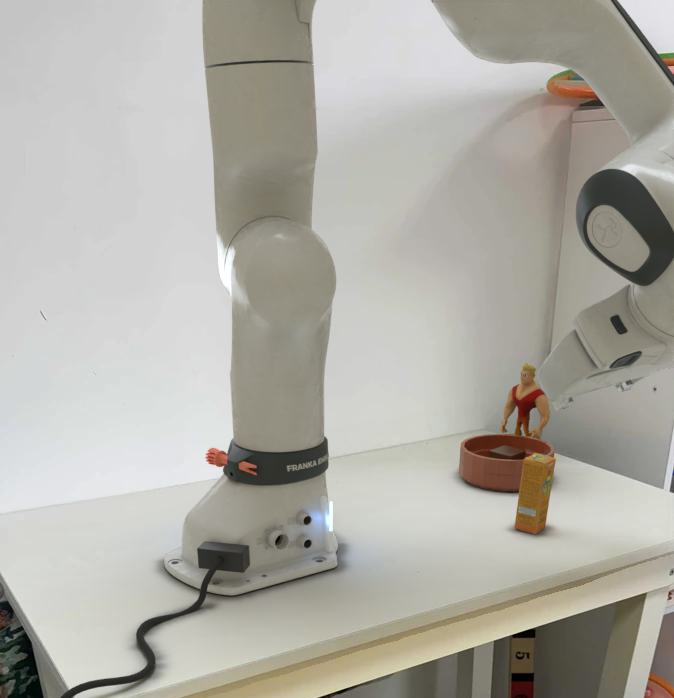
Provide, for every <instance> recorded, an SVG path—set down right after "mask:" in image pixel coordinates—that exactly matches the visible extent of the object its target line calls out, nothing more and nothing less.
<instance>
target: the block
mask: <svg viewBox="0 0 674 698" xmlns="http://www.w3.org/2000/svg"><path fill="white" fill-rule="evenodd" d="M525 454H526V451H525V450H521V449H517V448H513V447H509V446H505V445H504V446H501V447H498V448H496V449H493V450H490V451H489V458H495V459H506V460H524V459H525Z"/></svg>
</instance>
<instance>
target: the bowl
mask: <svg viewBox="0 0 674 698" xmlns="http://www.w3.org/2000/svg"><path fill="white" fill-rule="evenodd" d="M533 437H534V436H533ZM533 437H528V436H526V435H523V434H522V435H515V434H513V433H486V434H479V435H474V436H471V437H467V438H465V439H464V440H463V441H461V442H460V448H459V462H458V463H459V465H458V475H459V476H460V477H461V478H462V479H463V480H464V481H465V482H467V483H468V484H470V485H472V486H473V487H474V486H475V487H477V488H481V489H484V490H490V491H497V492H519V490H520V483H521V476H522V469H523V462H524V460H506V459H495V458H489V451H490V450H493V449H496V448H498V447H501V446H504V445H505V446H509V447H513V448H517V449H521V450H525V451H526V454H525V458H526V457H529V456H531V455H533V454H534V453H539V454H543V455H547V456H550V457H553V458H555V447H554V446H553V445H552V444H551V443H549V442H547V441H545V440H542V439H541V438H539V439H537V438H536V437H535V438H533Z"/></svg>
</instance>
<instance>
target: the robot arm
mask: <svg viewBox="0 0 674 698" xmlns="http://www.w3.org/2000/svg"><path fill="white" fill-rule="evenodd" d="M317 1H318V0H202V11H201V14H202V15H201V17H202V19H201V20H202V21H201V22H202V23H201V24H202V25H201V27H202V29H201V30H202V51H203V52H202V53H203V64H204V76H205V86H206V97H207V105H208V106H207V107H208V108H207V109H208V118H209V128H210V136H211V137H210V139H211V148H212V161H213V162H212V163H213V164H212V165H213V193H214V195H213V196H214V212H215V213H214V215H215V231H216V232H215V233H216V248H217V261H218V272H219V276H220V279H221V283H222V284H223V287H224V289H225V291H226V292H227V293H228V295H229V296H230V302H231V357H230V372H229V381H230V400H231V401H230V402H231V417H232V436H233V437H232V439H231V440H230V443H229V445H228V449H227V452H226V451H224V450H220V449H218V448H217V447H210V448H209V449H207V452H206V453H205V459H206V460H205V461H206V462H207V463H208V464H209V465H211V466H215V467H217V468H222V475H221V476H220V477H219V478H218V480H217V481H216V482H215V483H214V484H213V485H212V486H211V487H210V489H209V490H208V491H207V492H206V493H205V494H204V495H203V496H202V497H201V498H200V499H199V501H198V502H197V503H196V504H195V505H194V506H193V507H192V508H191V509H190V510H189V511H188V512H187V514H186V515H185V517H184V519H183V523H182V532H181V546H180V547H178V548H176V549H174V550H172V551H170V552H168V553H165V555H164V560H163V565H164V568H165V570H167V572H168V573H169V574H170V575H171V576H173V577H174V578H176V579H177V580H179V581H180V582H183V583H185V584H187V585H188V586H191V587H193V588H196V589H199V595H198V598H197V600H196V601H195V602H193V604H192V605H190V606H189V607H188V608H186V609H184V610H181V611H178V612H175V613H169V614H165V615H159V616H153V617H151V618H148V619H146V620H144V621H143V622H142V623H141V624H140V625H139V627H138V628H137V630H136V633H135V636H136V637H135V638H136V641H137V643H138V646H139V647H140V648H141V650H142V651H143V652H144V654H145V656H146V658H147V664H146V665H145V667H144V668H143V669H141V670H140V671H138V672H136V673H133V674H129V675H124V676H117V677H107V678H99V679H95V680H89V681H86V682H82V683H79V684H77V685H75V686H73V687H71V688H69V689H68V690H67V691H65V692H64V693H63V694H62V695H61V696H60V697H59V698H74V697H75V696H76V695H79V694H81V693H83V692H85V691H89V690H92V689H97V688H104V687H111V686H120V685H127V684H131V683H135V682H138V681H141V680H143V679H145V678H146V677H147V676H149V675H150V674H151V673H152V671H153V670H154V668H155V665H156V655H155V652H154V651H153V650H152V648H151V647H150V645H149V644H148V642H147V641H146V639H145V637H144V633H145V632H146V630H147V629H148V628H150V627H152V626H154V625H157V624H161V623H165V622H168V621H171V620H174V619H177V618H180V617H183V616H186V615H189V614H192V613H195V612H196V611H198V609H200V608H201V607H202V606H203V604H204V603H205V601H206V597H207V592H208V593H211V594H216V595H224V596H237V595H241V594H244V593H249V592H252V591H257V590H260V589H263V588H267V587H271V586H275V585H277V584H281V583H285V582H289V581H292V580H295V579H296V580H297V579H300V578H302V577H306V576H310V575H313V574H314V575H315V574H318V573H320V572H324V571H327V570H332V569H334V568H336V567H337V566H338V565H339V564H338V563H339V562H338V557H337V551H338V550H339V542H338V540H337V536H336V533H335V529H334V525H333V501H329V493H328V486H327V485H328V484H327V474H326V473H327V470H328V469H329V458H330V452H329V440H328V438H327V436H325V373H326V363H327V354H328V348H329V342H330V333H331V324H332V314H333V302H334V297H335V294H336V287H337V272H336V271H337V270H336V267H335V261H334V259H333V256H332V254H331V251H330V250H329V248H328V245H327V244H326V242H325V241H324V240H323V238H321V236H320V235H319V234H318V233H317V232H316V231H314V230H313V229H312V228H313V227H312V222H313V199H314V198H313V197H314V183H315V173H316V163H317V162H316V161H317V158H318V150H319V149H318V147H319V146H318V128H317V127H318V125H317V105H316V103H317V102H316V85H315V84H316V83H315V82H316V81H315V65H314V62H315V61H314V45H313V17H314V16H313V15H314V10H315V5H316V3H317ZM430 1H431V3H432V5H433V6H434V7H435V9H436V11H437V13H438V14H439V16H440V17H441V19H442V20H443V21H442V22H444V24H445V25H446V27H447V28H448V30H449V32H451V35H453V37H455V39H456V40H457V41H458V43H460V44H461V45H462V46H463V47H464V48H465V49H466V50H467V51H468V52H469V53H470V54H471V55H472V56H474V57H475V58H478V59H479V60H483V61H486V62H489V63H494V64H501V65H511V64H522V63H540V64H549V65H550V64H552V65H556V66H560V67H563V68H566V69H568V70H570V71H572V72H574V73H575V74H577V75H578V76H579V77H580V78H581V79H583V81H585V82H586V84H587V85H588V86H589V87H590V89H591V91H593V93H594V94H595V95H596V97H597V98H598V99H599V101H600V102H601V103H602V104H603V106H604V107H605V108H606V109H607V111H608V112H609V113H610V114H611V116H612V117H613V118H614V120H615V121H616V123H618V125H619V126H620V128H621V129H622V130H623V131H624V133H625V134H626V135H627V137H628V139H629V144H630V146H629V147H628V148H626V149H625V150H624V151H622V152H620V153H619V154H618V155H616V156H615V157H613V158H612V159H611V160H610V161H609V162H607V163H606V164H605V165H603V166H602V167H601V168H600V169H598V171H596V172H595V173H593V174H591V176H590V177H588V179H586V181H585V182H584V184H582V187H581V189H580V191H579V193H578V196H577V199H576V204H575V223H576V228H577V233H578V235H579V237H580V240H581V241H582V243H583V245H584V246H585V247H586V249H587V250H588V251H589V252H590V253H591V255H593V257H595V258H596V259H597V260H598V261H600V262H601V263H602V264H604V265H605V266H607V267H608V268H609V269H610V270H612V271H613V272H614V273H616V274H617V275H619V276H621V277H622V278H623V279H626V280H627V281H629V282H631V283H630V284H626V285H625V286H623V287H622V288H620V289H618V291H616V292H615V293H613V294H612V295H610V296H609V297H606V298H604V299H603V300H600V301H599V302H596V303H594V304H592V305H589V306H588V307H586V308H585V307H584V308H583V309H582V310H580V311H579V312H578V313H577V314H576V315H575V316H574V317H573V320H572V326H573V329H572V330H571V331H569V332H567V334H565V335H564V336H563V337H562V338H561V339H560V340H559V341H558V342H557V343H556V344H555V346H554V348H553V349H552V350H551V351H550V353H549V354H548V355H547V357H546V358H545V360H544V361H543V363H542V364H541V365H540V367H539V368H538V371H537V381H538V383H539V386H540V388H541V390H542V391H543V392H544V393H545V395H546V397H547V399H548V401H550V404H551V405H552V406H553V408H554V410H555V411H556V412H558V411H563V410H565V409H568V408H569V407H570V405H572V404H573V403H574V399H573V398H574V397H576V396H581V395H584V394H587V393H590V392H594V391H598V390H602V389H604V388H609V387H612V386H614V387H615V388H616V391H617V392H618V393H623V392H627V391H630V390H632V389H633V388H634V386H636V384H637V383H639V382H641V381H643V380H644V379H646V378H647V377H649V376H651V375H653V374H657V373H660V372H663V371H667V370H670V369H674V73H673V71H672V70H671V69H670V68H669V66H668V65H667V64H666V62H665V61H664V60H663V58H662V57H661V56H660V54H659V53H658V51H657V50H656V49H655V47H654V46H653V45H652V43H651V42H650V41H649V40H648V38H647V37H646V36H645V34H644V33H643V32H642V29H640V27H639V26H638V25H637V24H636V22H635V20H633V18H632V17H631V16H630V14H629V13H628V12H627V11H626V9H625V8H624V6H622V4H621V3H620V2H619V0H430Z"/></svg>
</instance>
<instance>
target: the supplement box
mask: <svg viewBox="0 0 674 698" xmlns="http://www.w3.org/2000/svg"><path fill="white" fill-rule="evenodd" d="M556 461H557V458H555V457H554V458H553V457H550V456H547V455H543V454H539V453H534V454H533V455H531V456H529V457H526V458H525V459H524V462H523V469H522V476H521V483H520V490H519V491H518V498H517V504H516V505H517V506H516V512H515V513H516V514H515V521H514V529H515V530H518V531H521V532H525V533H529V534H533V535H536V534H538V533H539V532H541V531H542V530H543V529H545V528H546V525H547V519H548V513H549V512H548V511H549V505H550V499H551V492H552V487H553V479H554V473H555V468H556V467H555V466H556Z"/></svg>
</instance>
